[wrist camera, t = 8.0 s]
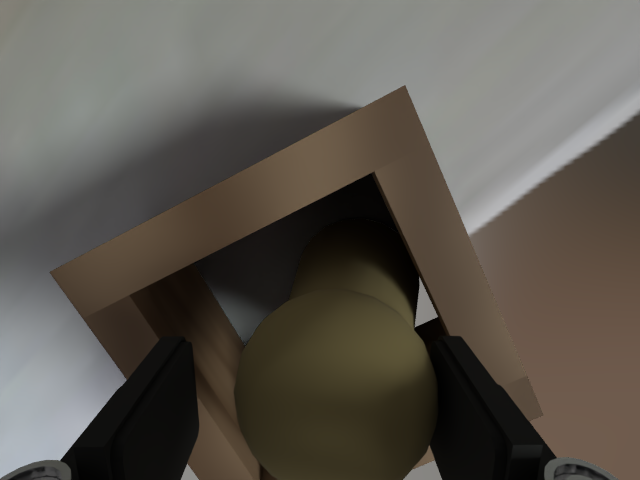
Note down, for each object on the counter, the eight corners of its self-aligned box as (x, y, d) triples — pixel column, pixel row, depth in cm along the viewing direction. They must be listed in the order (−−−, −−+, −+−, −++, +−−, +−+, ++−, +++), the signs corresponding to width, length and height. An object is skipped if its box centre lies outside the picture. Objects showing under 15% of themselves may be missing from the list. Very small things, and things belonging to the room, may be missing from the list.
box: (370, 108, 17) (405, 85, 10) (466, 323, 20) (543, 415, 13) (147, 225, 18) (49, 272, 12) (265, 412, 21) (242, 539, 14)
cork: (430, 324, 19) (493, 544, 8) (313, 342, 20) (236, 554, 9) (406, 205, 18) (442, 282, 7) (284, 231, 19) (160, 330, 8)
